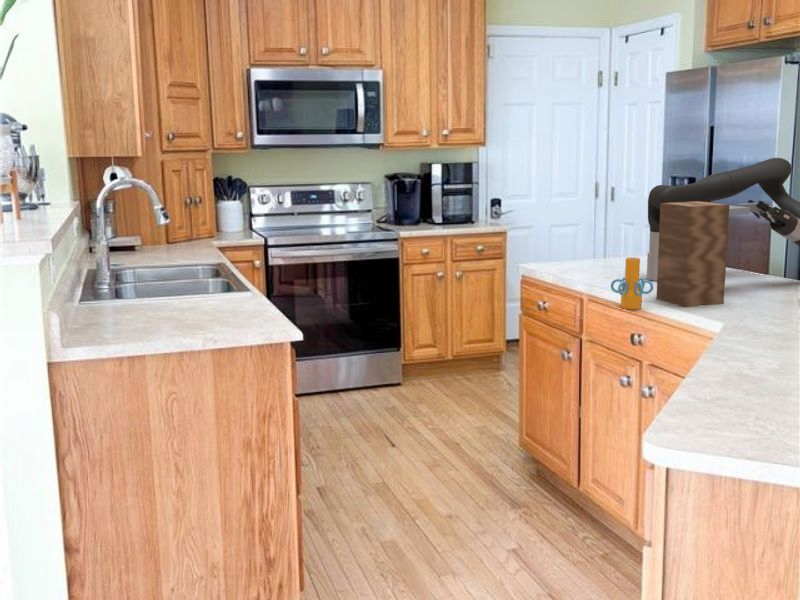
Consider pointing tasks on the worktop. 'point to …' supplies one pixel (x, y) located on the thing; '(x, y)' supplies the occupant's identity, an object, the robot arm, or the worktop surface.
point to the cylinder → (631, 285)
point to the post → (692, 253)
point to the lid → (744, 208)
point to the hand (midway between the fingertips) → (753, 202)
